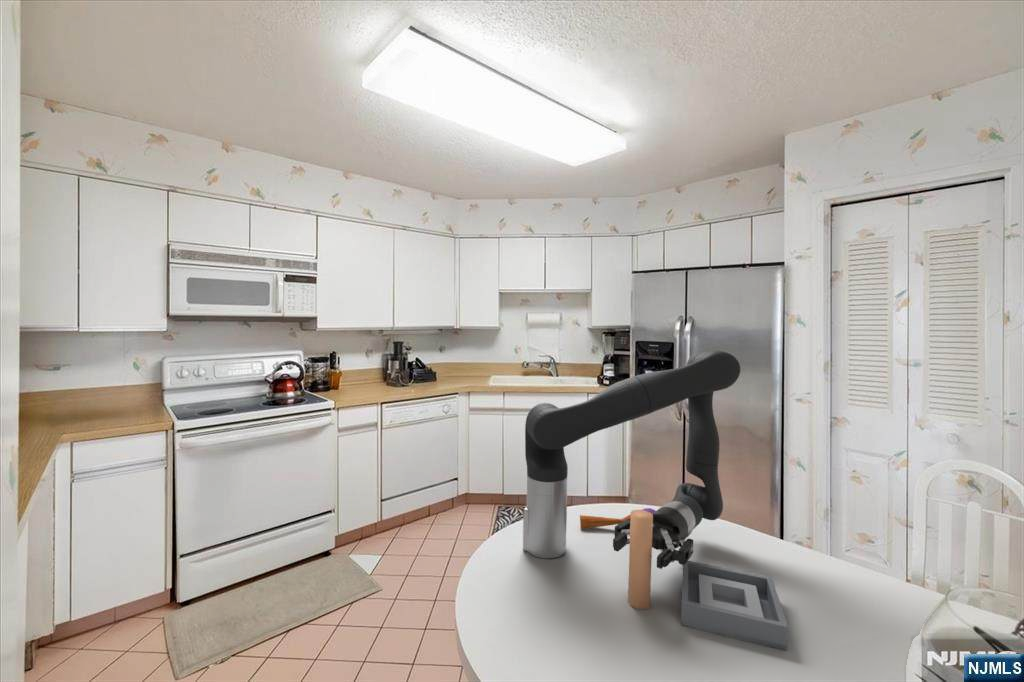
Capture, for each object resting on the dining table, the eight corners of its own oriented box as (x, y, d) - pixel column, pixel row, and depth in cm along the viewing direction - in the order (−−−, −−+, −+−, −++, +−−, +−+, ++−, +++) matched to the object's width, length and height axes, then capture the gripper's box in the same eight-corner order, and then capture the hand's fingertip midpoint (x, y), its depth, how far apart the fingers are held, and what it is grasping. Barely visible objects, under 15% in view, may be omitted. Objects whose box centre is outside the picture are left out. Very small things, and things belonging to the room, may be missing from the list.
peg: (626, 606, 83) (629, 516, 82) (629, 593, 87) (631, 508, 86) (649, 611, 82) (652, 520, 81) (650, 598, 86) (653, 512, 85)
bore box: (681, 624, 79) (681, 602, 78) (682, 578, 93) (682, 559, 92) (786, 650, 73) (787, 627, 73) (770, 597, 87) (771, 577, 86)
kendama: (579, 507, 118) (657, 505, 115) (580, 531, 117) (659, 529, 115) (580, 512, 112) (662, 511, 110) (581, 537, 111) (665, 536, 109)
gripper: (640, 497, 99) (602, 522, 87) (706, 517, 90) (675, 548, 78) (639, 530, 100) (601, 559, 88) (705, 553, 90) (673, 590, 78)
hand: (636, 554), depth 83 cm, fingers open, 8 cm apart
